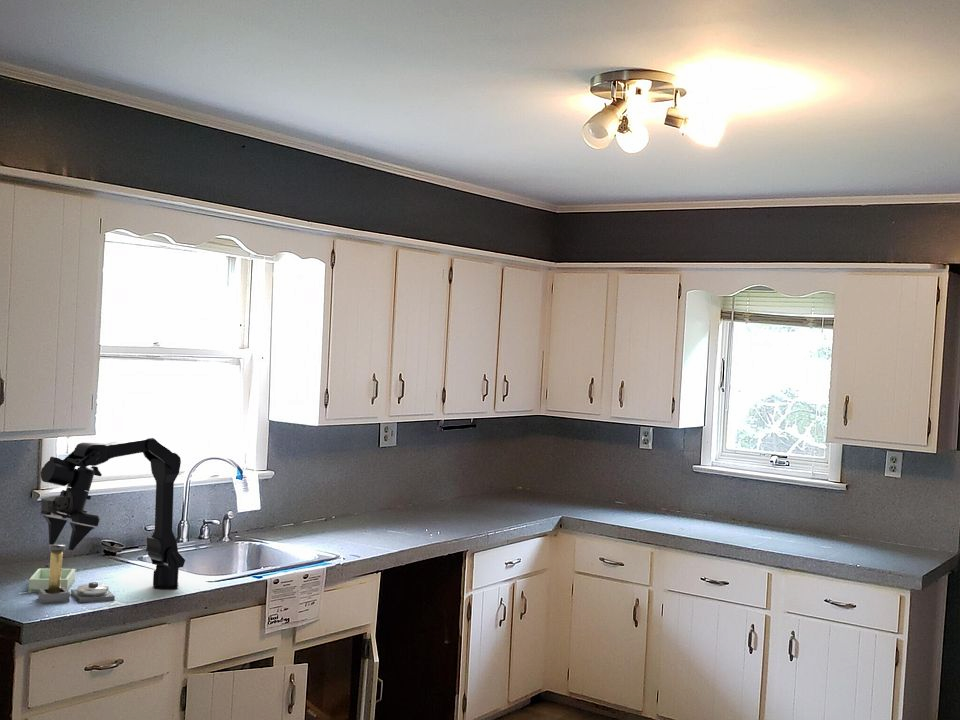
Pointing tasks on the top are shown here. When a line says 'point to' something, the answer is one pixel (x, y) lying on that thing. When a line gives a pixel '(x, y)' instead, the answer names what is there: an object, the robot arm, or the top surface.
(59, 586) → the lock pin
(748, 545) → the top surface
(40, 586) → the tray
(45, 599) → the grey low boxy pieces
